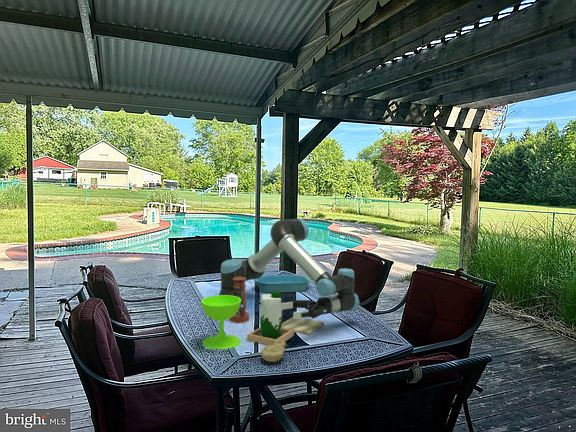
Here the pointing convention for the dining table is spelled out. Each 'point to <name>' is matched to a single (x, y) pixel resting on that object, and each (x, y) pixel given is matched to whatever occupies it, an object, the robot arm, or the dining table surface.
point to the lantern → (241, 314)
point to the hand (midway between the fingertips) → (286, 311)
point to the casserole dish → (282, 283)
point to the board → (302, 325)
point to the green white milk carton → (271, 315)
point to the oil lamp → (273, 351)
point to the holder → (268, 341)
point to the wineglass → (221, 319)
